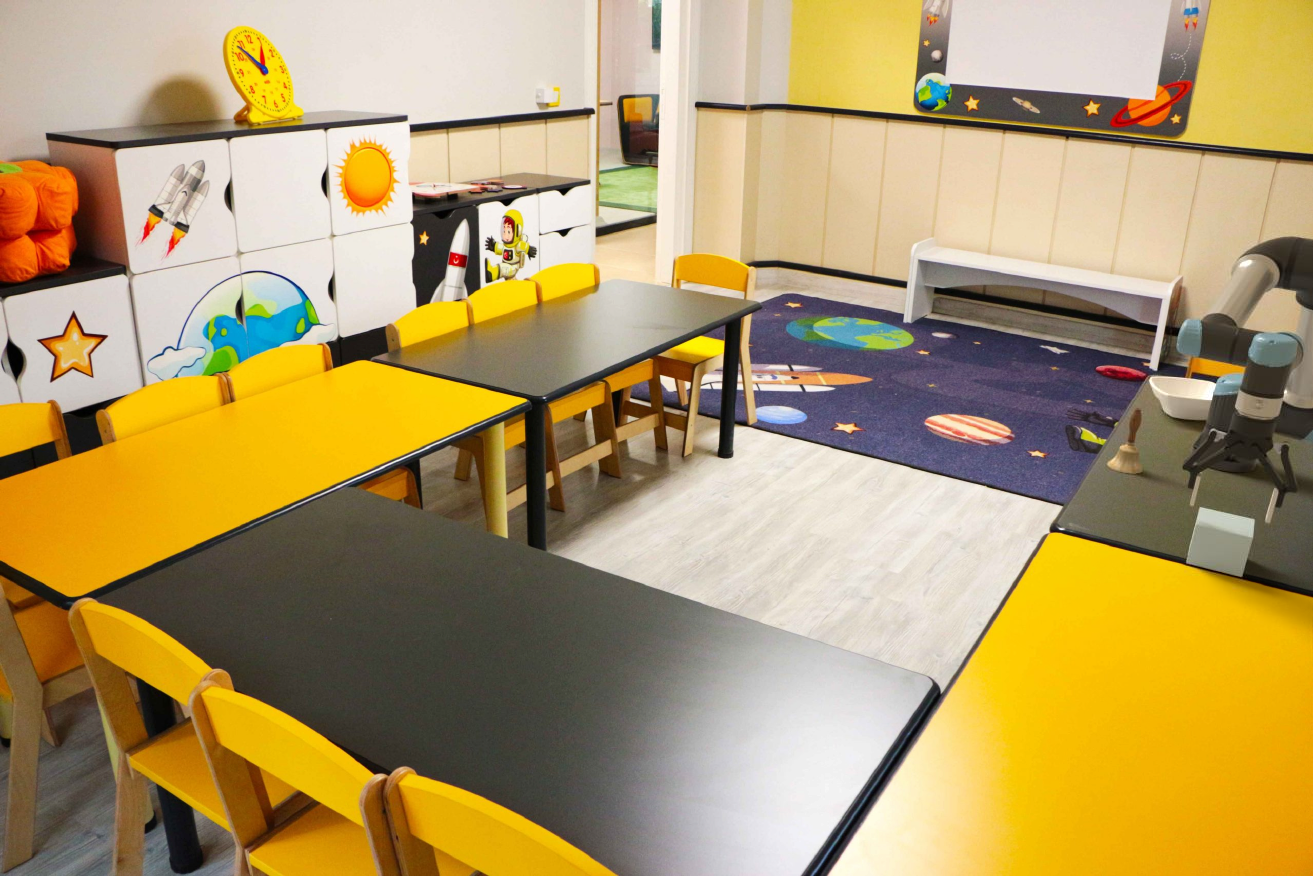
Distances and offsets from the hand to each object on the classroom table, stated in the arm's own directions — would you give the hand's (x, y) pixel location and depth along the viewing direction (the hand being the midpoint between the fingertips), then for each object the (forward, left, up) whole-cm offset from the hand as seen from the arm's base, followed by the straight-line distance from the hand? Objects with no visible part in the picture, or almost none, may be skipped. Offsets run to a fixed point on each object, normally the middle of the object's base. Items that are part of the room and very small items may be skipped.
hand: (1229, 512), depth 205 cm
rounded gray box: (-2, -1, -12) cm, 12 cm away
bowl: (-80, -62, -12) cm, 102 cm away
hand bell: (-28, -43, -12) cm, 53 cm away
